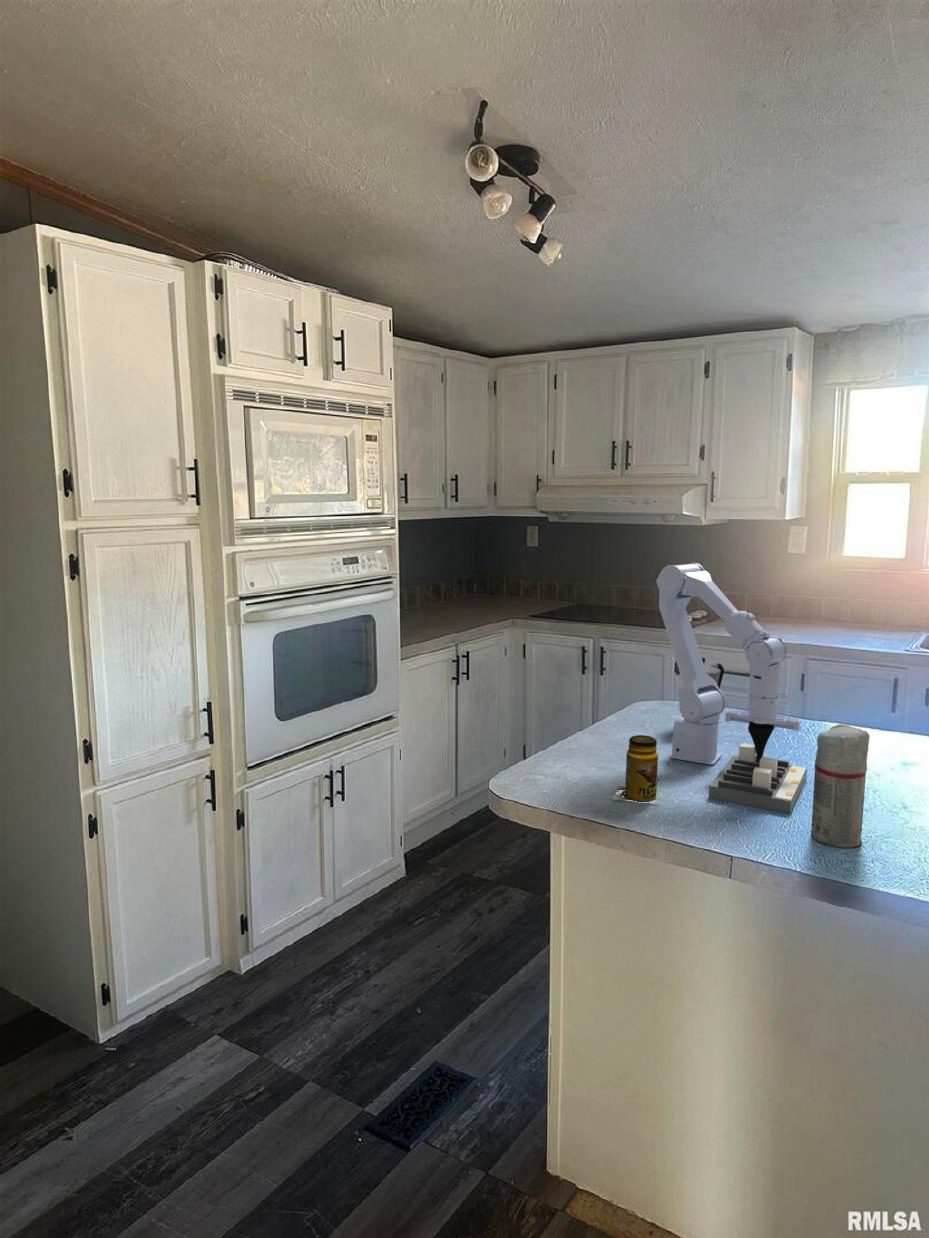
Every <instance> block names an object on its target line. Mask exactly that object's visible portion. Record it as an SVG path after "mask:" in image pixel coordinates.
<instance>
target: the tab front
mask: <svg viewBox="0 0 929 1238" xmlns="http://www.w3.org/2000/svg"><path fill="white" fill-rule="evenodd" d="M771 775H772V770H769V769H763V768H757V767H755V769H754V770H753V782H752V786H756V787H761V788H767V789H770V788H771Z"/></svg>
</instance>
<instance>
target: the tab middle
mask: <svg viewBox="0 0 929 1238" xmlns="http://www.w3.org/2000/svg"><path fill="white" fill-rule="evenodd" d="M778 760H779V759H778V758H770V757H766V756H763V757H762V758H761V759H760V765H759V768H763V769H769V770H772V775H771V777H775V778H776V777H777V763H778Z"/></svg>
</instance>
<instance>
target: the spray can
mask: <svg viewBox="0 0 929 1238" xmlns="http://www.w3.org/2000/svg"><path fill="white" fill-rule="evenodd" d="M816 742H817V743H816V744H817V750H816V754H815V760H814V776H813V778H814V779H813V798H812V813H811V814H812V815H811V831H810V833H811V836H812V837H813V839H814V840H816V841H817V842H819V843H822V844H824V845H826V846H830V847H837V848H845V849H848V848H854V847H855V848H856V847H858V846H861V845H862V843H863V841H862V831H863V817H864V816H863V815H864V803H865V791H866V777H867V771H868V765H867V764H868V755H869V753H868V752H869V745H870V734H869V733H868V731H866V730H864V729H861V728H857V727H855V726H851V725H849V724H841V723H840V724H836V725H833V726H831V727H830V728H829V730H827V731H823V732H820V733H819V734H818V736H817V741H816Z"/></svg>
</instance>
